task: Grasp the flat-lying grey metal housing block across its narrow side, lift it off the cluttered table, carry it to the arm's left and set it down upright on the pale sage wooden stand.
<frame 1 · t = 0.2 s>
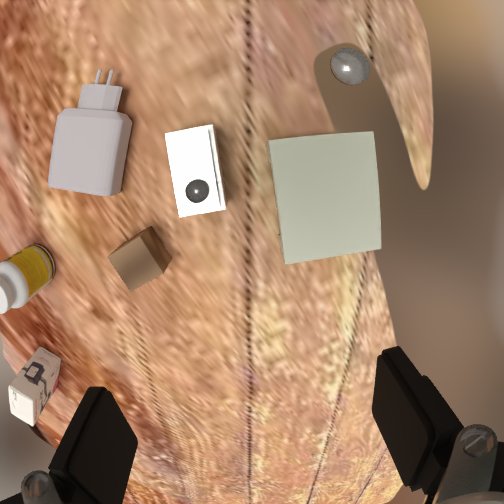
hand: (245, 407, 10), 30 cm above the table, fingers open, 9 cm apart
white product box: (49, 366, 45), on the table
housing: (200, 168, 36), on the table
pill bottle: (40, 263, 39), on the table
grey disc: (348, 67, 33), on the table
stand: (321, 192, 37), on the table
charger: (101, 129, 34), on the table
walnut block: (146, 251, 39), on the table
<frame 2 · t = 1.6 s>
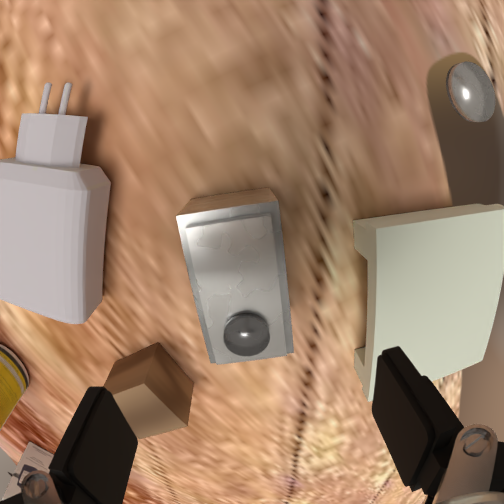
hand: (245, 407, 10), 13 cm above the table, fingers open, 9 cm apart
white product box: (44, 458, 31), on the table
housing: (239, 258, 21), on the table
pill bottle: (9, 363, 24), on the table
grey disc: (468, 92, 18), on the table
stand: (421, 288, 23), on the table
charger: (60, 189, 19), on the table
walnut block: (153, 372, 24), on the table
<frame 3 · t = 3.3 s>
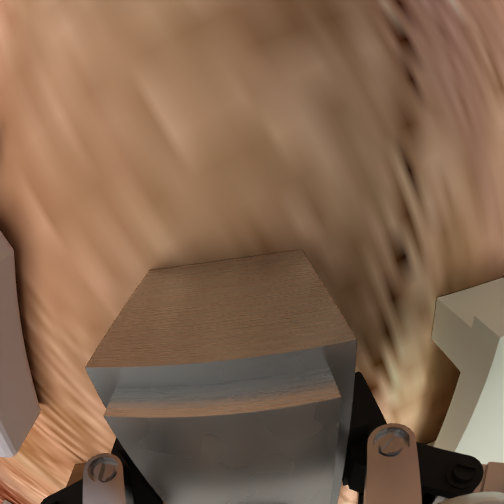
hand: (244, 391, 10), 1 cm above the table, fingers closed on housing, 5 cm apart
housing: (243, 370, 11), on the table, touching gripper
stand: (497, 372, 13), on the table
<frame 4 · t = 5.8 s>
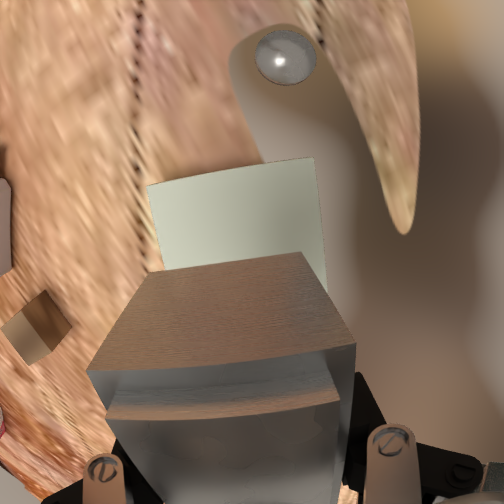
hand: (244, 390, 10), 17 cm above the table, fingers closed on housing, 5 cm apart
housing: (243, 372, 11), point 16 cm above the table, touching gripper
grey disc: (284, 59, 22), on the table
stand: (244, 248, 27), on the table
walnut block: (46, 317, 29), on the table
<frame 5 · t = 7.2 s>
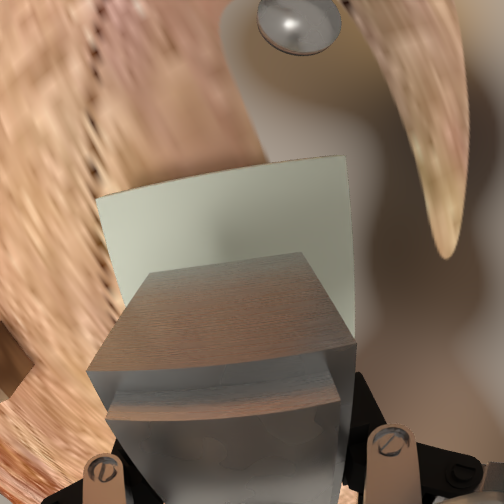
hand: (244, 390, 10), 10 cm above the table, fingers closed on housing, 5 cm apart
housing: (244, 372, 11), point 9 cm above the table, touching gripper
grey disc: (297, 21, 15), on the table
stand: (240, 281, 20), on the table
walnut block: (6, 350, 21), on the table
when the fingers open (6 cm above the table, at t = 8.3 s): housing drops 1 cm, resting on stand.
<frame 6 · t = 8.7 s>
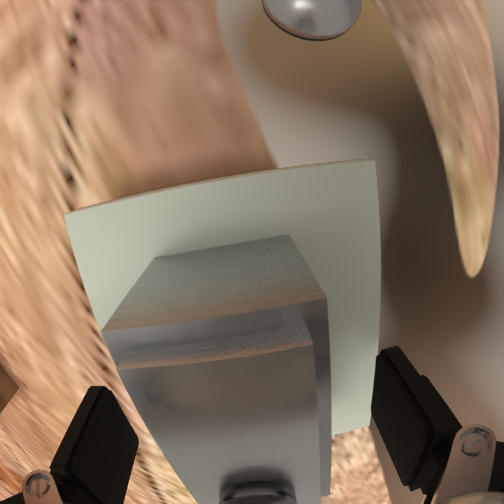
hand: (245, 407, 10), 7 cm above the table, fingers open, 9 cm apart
housing: (241, 348, 13), point 4 cm above the table, touching stand
grey disc: (309, 2, 12), on the table
stand: (241, 308, 16), on the table
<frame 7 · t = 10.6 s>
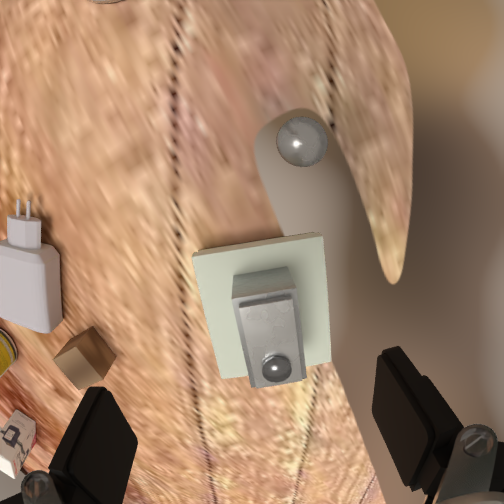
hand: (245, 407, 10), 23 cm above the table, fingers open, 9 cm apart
white product box: (27, 425, 41), on the table
housing: (267, 314, 30), point 4 cm above the table, touching stand
pill bottle: (4, 343, 35), on the table
grey disc: (301, 142, 30), on the table
stand: (265, 298, 34), on the table
charger: (35, 256, 32), on the table
walnut block: (92, 348, 35), on the table
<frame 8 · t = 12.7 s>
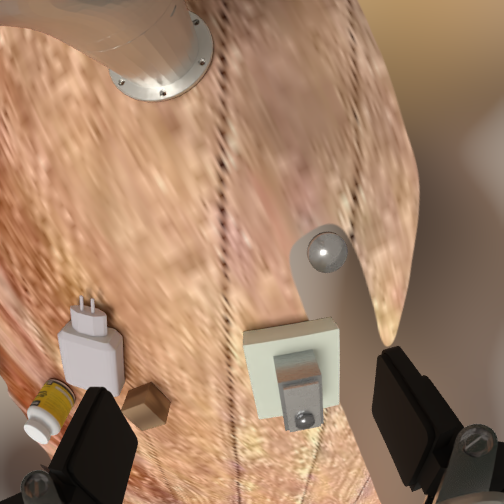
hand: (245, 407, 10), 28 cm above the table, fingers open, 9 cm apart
housing: (295, 378, 39), point 4 cm above the table, touching stand
pill bottle: (61, 390, 44), on the table
grey disc: (326, 251, 38), on the table
stand: (291, 362, 43), on the table
charger: (96, 334, 41), on the table
walnut block: (149, 396, 44), on the table
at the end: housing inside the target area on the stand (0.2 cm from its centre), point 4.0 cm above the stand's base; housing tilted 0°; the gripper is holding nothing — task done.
